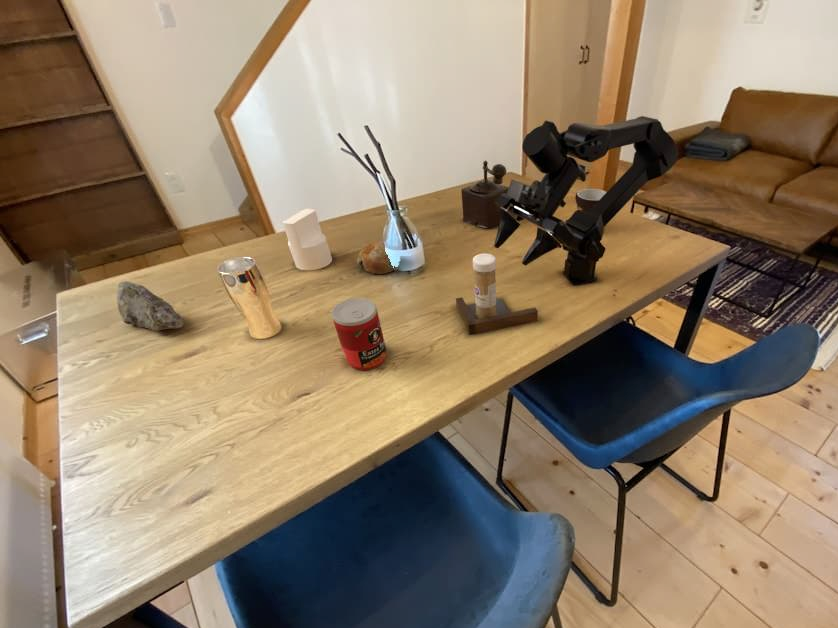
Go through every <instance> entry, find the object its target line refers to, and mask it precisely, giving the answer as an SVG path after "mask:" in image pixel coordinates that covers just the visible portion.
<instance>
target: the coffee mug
mask: <svg viewBox="0 0 838 628" xmlns="http://www.w3.org/2000/svg"><path fill="white" fill-rule="evenodd" d="M606 192H607V191H606V190H603V189H598V188H585V189H581V190H579V191H577V192H576V193H575V203H576V211H577V210H581V211H583V212H587V211H589V210H590V209H591V208H592V207H593V206H594V205H595V204H596V203H597V202H598V201H599V200H600V199H601V198H602V197H603V196H604V195H605V193H606Z"/></svg>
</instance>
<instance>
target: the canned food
mask: <svg viewBox="0 0 838 628" xmlns="http://www.w3.org/2000/svg"><path fill="white" fill-rule="evenodd" d="M331 318H332V322H333V324H334V327H335V330H336V335H337V336H338V340H339V343H340V346H341V349H342V352H343V354H344V358H345V361H346V362H347V364H348V365H349V366H350V367H351V368H353V369H355V370H358V371H368V370H372V369H373V370H374V369H375V368H377V367H379V366H381V365H382V364H383V363H384V362H385V361H386V359H387V346H386V342H385V337H384V334H383V330H382V329H383V328H382V326H381V325H382V323H381V321H380V320H381V319H380V315H379V313H378V309H377V306H376V304H375V303H374V302H373V301H372V300H370V299H368V298H362V297H361V298H360V297H359V298H358V297H357V298H356V297H355V298H349V299H346V300H343V301H340V302H339V303H336V305H335V306H334V307H333V308H332V309H331Z"/></svg>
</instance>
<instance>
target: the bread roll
mask: <svg viewBox="0 0 838 628" xmlns="http://www.w3.org/2000/svg"><path fill="white" fill-rule="evenodd" d="M384 241H385V240H374V241H372V242H370V243H367V244H366V245H364V246H363V248H362V249H361V250H360V252H359V253H358V257H357V260H356V262H357V264H358V265H360V267H361V269H362V270H364V271H365V272H366V273H370V274H372V275H378V274H379V275H384V274H389V273H391V272H396V271H397V270H398V269H399V266H398V267H395V266H394V268H393V266H392V265H391V262H390V259H389V258H388V255H387V254H386V252H385V245H384Z"/></svg>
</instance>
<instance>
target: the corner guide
mask: <svg viewBox="0 0 838 628" xmlns="http://www.w3.org/2000/svg"><path fill="white" fill-rule="evenodd" d="M455 305H456V310H457V312H458V314H459V316H460V318H461V320H462V323H463V324H464V327H465V329H466V331H467V334H468V336H472V335H477V334H481V333H485V332H491V331H495V330H499V329H504V328H509V327H514V326H519V325H524V324H529V323H533V322H537V321H538V320H539V319H538V316H539V311H538V309H537V307H531V308H525V309H521V310H520V309H519V310H516V311H510V309H509V308H508V306H507V305H506V303H505V302H504V300H503V298H496V314H497V315H495V316H490V317H485V318H480V319H478V318H477V317H476V303H470V304H466V302H465V299H464V298H463V297H462V296H461V297H456V298H455Z"/></svg>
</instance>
